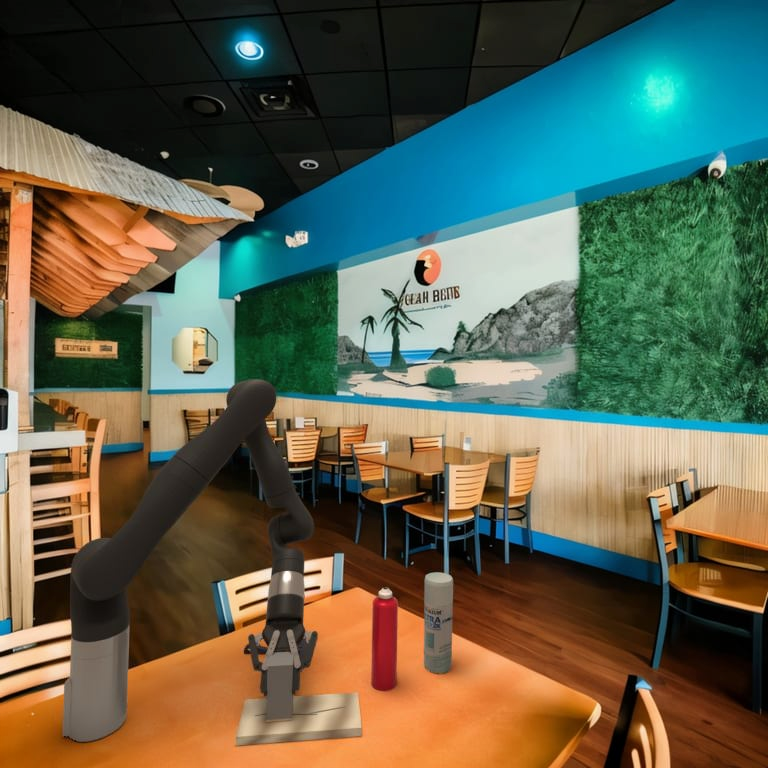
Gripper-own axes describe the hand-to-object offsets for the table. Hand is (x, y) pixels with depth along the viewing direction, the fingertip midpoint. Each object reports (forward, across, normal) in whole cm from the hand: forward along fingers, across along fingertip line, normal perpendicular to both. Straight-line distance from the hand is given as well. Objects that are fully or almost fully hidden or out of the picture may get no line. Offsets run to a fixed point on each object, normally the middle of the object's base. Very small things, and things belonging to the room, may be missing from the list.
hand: (279, 694), depth 85 cm
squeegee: (-13, -3, +23) cm, 27 cm away
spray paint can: (-7, +34, +16) cm, 38 cm away
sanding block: (+2, 0, +5) cm, 5 cm away
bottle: (-3, +21, +13) cm, 25 cm away
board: (+3, +4, +6) cm, 8 cm away
